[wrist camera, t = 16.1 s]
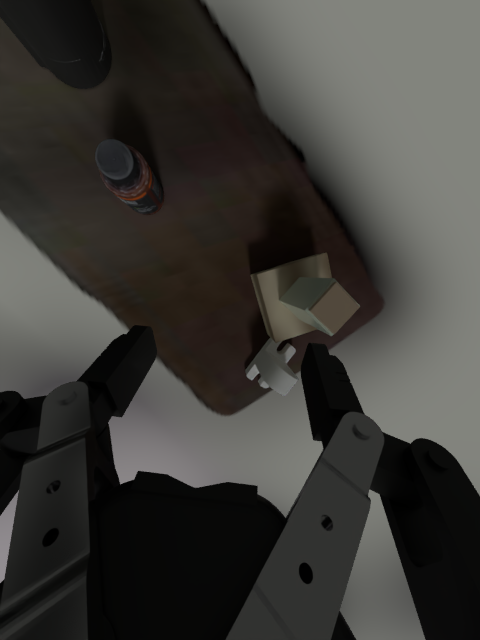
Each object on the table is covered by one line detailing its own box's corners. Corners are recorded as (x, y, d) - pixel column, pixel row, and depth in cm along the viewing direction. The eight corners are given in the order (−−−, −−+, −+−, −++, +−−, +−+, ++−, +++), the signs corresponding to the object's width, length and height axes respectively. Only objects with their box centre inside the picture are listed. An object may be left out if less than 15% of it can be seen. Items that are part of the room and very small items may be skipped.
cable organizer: (244, 371, 43) (253, 399, 33) (273, 332, 42) (292, 349, 32) (264, 384, 44) (279, 415, 34) (293, 346, 43) (317, 367, 33)
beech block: (266, 333, 42) (275, 343, 36) (250, 274, 39) (256, 274, 33) (322, 315, 43) (340, 321, 37) (310, 255, 40) (326, 252, 34)
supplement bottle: (151, 168, 34) (122, 116, 23) (172, 205, 35) (154, 173, 24) (118, 186, 33) (72, 142, 22) (140, 222, 35) (107, 198, 24)
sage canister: (299, 319, 36) (334, 337, 26) (278, 300, 35) (306, 311, 25) (319, 297, 36) (363, 306, 25) (299, 277, 34) (336, 278, 24)
